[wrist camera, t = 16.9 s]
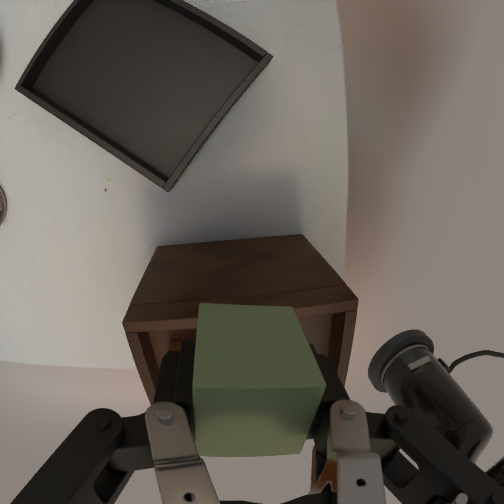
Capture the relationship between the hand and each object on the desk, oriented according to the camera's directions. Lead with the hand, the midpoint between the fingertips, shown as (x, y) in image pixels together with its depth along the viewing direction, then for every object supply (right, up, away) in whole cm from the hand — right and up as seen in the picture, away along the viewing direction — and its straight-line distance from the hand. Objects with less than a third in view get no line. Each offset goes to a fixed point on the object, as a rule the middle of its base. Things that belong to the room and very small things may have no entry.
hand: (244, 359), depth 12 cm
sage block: (0, 0, +1) cm, 1 cm away
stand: (-1, +1, +18) cm, 18 cm away
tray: (-10, +21, +10) cm, 25 cm away
